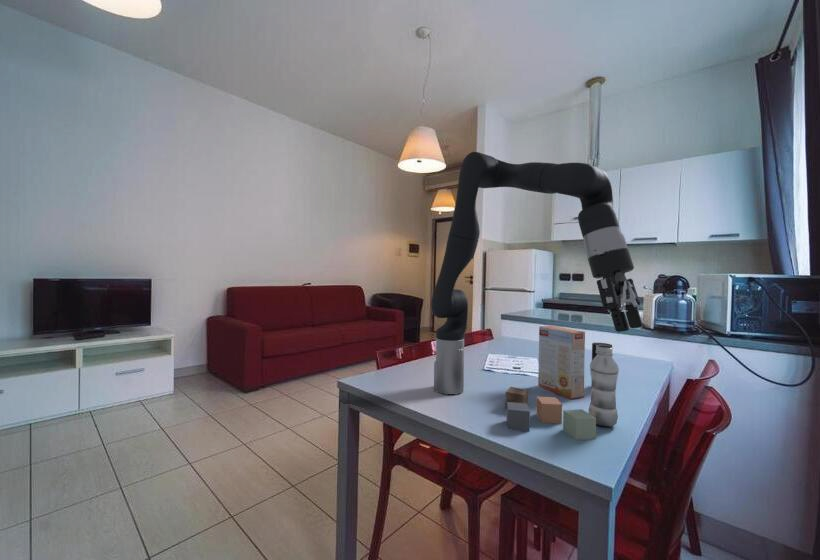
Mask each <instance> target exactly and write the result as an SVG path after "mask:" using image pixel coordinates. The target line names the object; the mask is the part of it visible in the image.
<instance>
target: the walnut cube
mask: <svg viewBox="0 0 820 560" xmlns="http://www.w3.org/2000/svg"><path fill="white" fill-rule="evenodd" d="M507 402H514V403H525V404H527V405H528V403H529V389H526V388H525V389H524V388H520V387H514V386H510V387H509V388H507V390H506V391H505V410H507ZM528 406H529V405H528Z"/></svg>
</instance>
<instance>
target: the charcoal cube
mask: <svg viewBox="0 0 820 560" xmlns="http://www.w3.org/2000/svg"><path fill="white" fill-rule="evenodd" d="M530 415H531V411H530V408H529V405H527V404H525V403H514V402H507V409H506V424H507V425H508V426H507V430H510V429H512V430H511V431H522V432H530V428H531V427H530V426H531V425H530V423H531V419H530V417H531V416H530Z"/></svg>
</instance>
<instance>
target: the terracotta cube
mask: <svg viewBox="0 0 820 560" xmlns="http://www.w3.org/2000/svg"><path fill="white" fill-rule="evenodd" d="M536 416H537V417H538V419H539V421H540V422H541V423H543V424H545V423H547V424H562V425H563V421H562V420H563V404H562V403H561V402H560V400H559V399H558V398H557V397H554V396H536Z"/></svg>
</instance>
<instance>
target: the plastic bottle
mask: <svg viewBox="0 0 820 560" xmlns="http://www.w3.org/2000/svg"><path fill="white" fill-rule="evenodd" d="M596 353H597V355H596V357H595V358H594V359H593V360H592V359H591V361H590V364H589V371H590V378H591V380H590V381H591V382H592V387H591V395H590V403H589V406H588V413H589V414H590V415H592V416H594V417H595V418H596V425H598V426H603V427H608V428H609V427H614V426H616V425H617V422H618V419H619V414H618V409H617V398H616V394H617V393H616V390H617V382H618V377H619V372H620V370H619V366H618V364H617V362H616V361H615V359H614V358H613V355H614V353H613V346H612V347H610V346H605V345H597V346H596Z"/></svg>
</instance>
